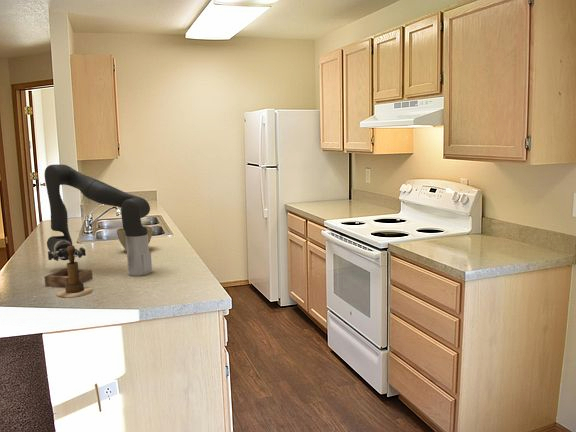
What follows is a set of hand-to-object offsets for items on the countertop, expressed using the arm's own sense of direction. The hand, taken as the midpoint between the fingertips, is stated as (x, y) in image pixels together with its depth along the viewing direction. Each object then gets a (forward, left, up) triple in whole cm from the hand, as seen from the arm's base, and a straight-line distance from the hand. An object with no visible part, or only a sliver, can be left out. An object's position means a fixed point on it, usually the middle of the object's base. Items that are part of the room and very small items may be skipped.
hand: (68, 256), depth 208 cm
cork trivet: (-8, +8, -12) cm, 16 cm away
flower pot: (+10, -64, -12) cm, 66 cm away
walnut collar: (+5, -5, -12) cm, 14 cm away
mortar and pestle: (-8, +8, -12) cm, 16 cm away
